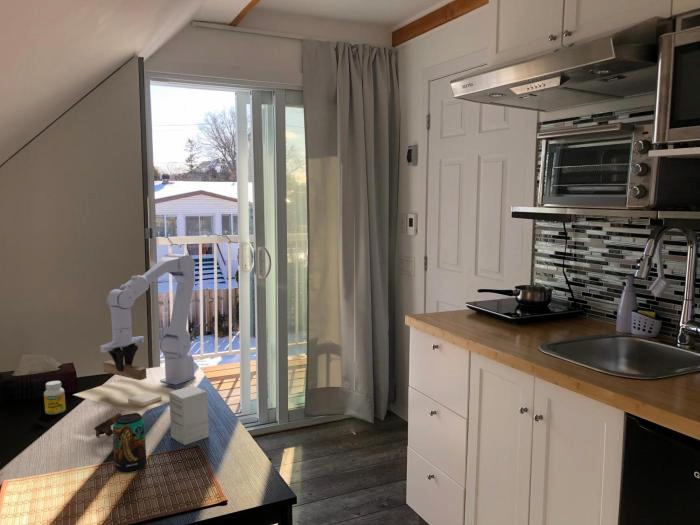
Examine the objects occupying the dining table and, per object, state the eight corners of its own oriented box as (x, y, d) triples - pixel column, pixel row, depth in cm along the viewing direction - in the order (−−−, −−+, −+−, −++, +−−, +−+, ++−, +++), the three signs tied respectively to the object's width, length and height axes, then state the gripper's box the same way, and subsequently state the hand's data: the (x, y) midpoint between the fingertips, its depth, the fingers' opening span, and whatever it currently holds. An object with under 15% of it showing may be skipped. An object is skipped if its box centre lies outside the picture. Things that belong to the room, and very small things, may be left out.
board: (126, 380, 200) (126, 377, 199) (190, 396, 183) (190, 393, 182) (72, 397, 183) (72, 394, 183) (137, 417, 166) (137, 413, 166)
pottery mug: (113, 454, 143) (96, 425, 143) (101, 459, 149) (85, 432, 150) (154, 428, 151) (138, 401, 152) (141, 433, 158) (126, 407, 158)
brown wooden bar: (110, 369, 187) (109, 360, 186) (146, 378, 177) (146, 368, 177) (103, 371, 185) (103, 361, 184) (140, 380, 175) (139, 370, 175)
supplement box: (195, 429, 156) (193, 384, 155) (209, 437, 151) (207, 391, 150) (170, 437, 151) (168, 391, 150) (184, 446, 146) (182, 398, 145)
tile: (146, 392, 181) (161, 396, 177) (147, 395, 181) (161, 399, 177) (127, 398, 175) (142, 403, 171) (128, 402, 175) (143, 406, 171)
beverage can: (115, 476, 130) (112, 425, 129) (114, 463, 137) (111, 415, 135) (147, 470, 133) (145, 420, 132) (145, 458, 139) (143, 410, 138)
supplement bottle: (64, 409, 172) (62, 378, 171) (67, 415, 168) (64, 383, 167) (44, 413, 169) (42, 382, 168) (46, 419, 165) (44, 386, 164)
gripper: (133, 321, 187) (135, 362, 189) (93, 330, 175) (95, 373, 177) (147, 323, 184) (149, 365, 185) (107, 333, 171) (110, 377, 173)
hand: (124, 369), depth 181 cm, fingers closed on brown wooden bar, 2 cm apart
